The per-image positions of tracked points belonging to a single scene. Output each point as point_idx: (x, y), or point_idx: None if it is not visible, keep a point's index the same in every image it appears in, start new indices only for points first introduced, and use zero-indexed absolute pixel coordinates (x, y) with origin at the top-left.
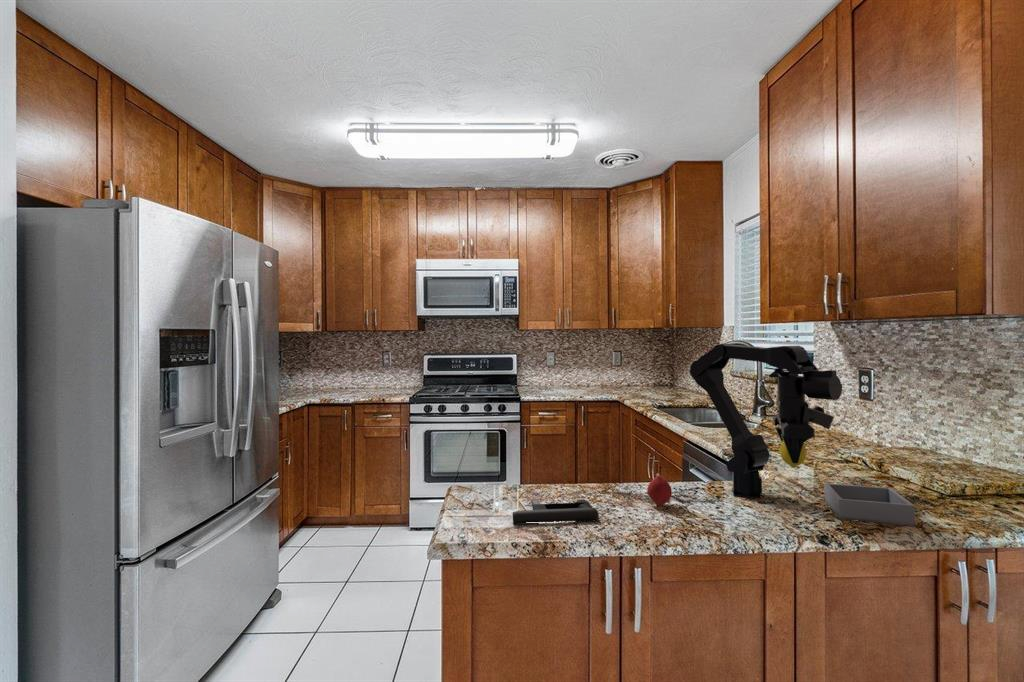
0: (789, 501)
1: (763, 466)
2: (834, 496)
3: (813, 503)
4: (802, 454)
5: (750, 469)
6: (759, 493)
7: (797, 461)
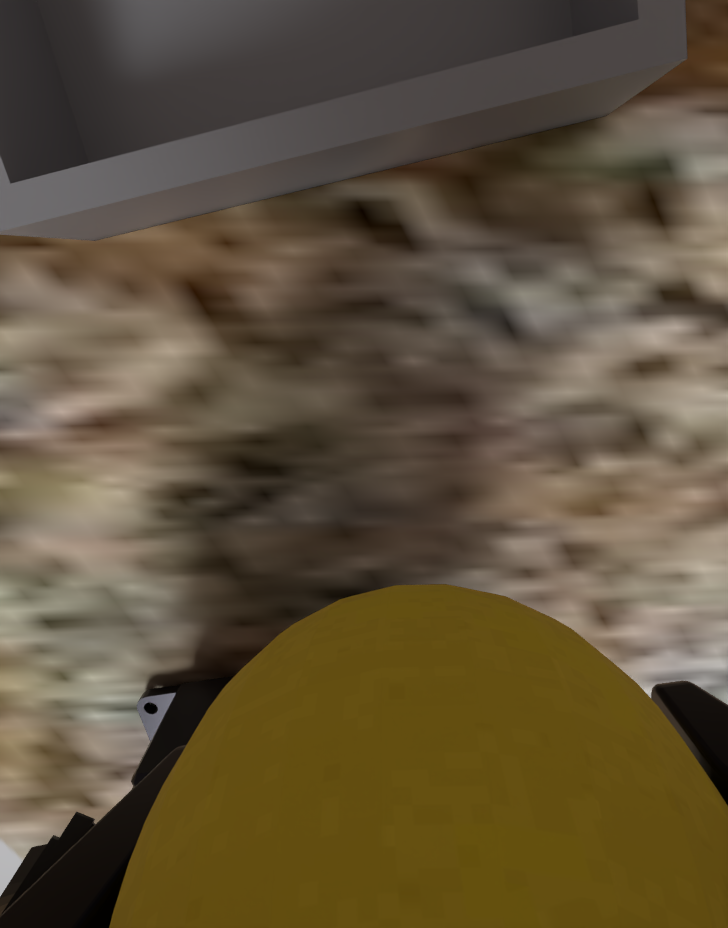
0: (270, 492)
1: (70, 843)
2: (464, 119)
3: (223, 326)
4: (671, 734)
5: None
6: None
7: (723, 709)
